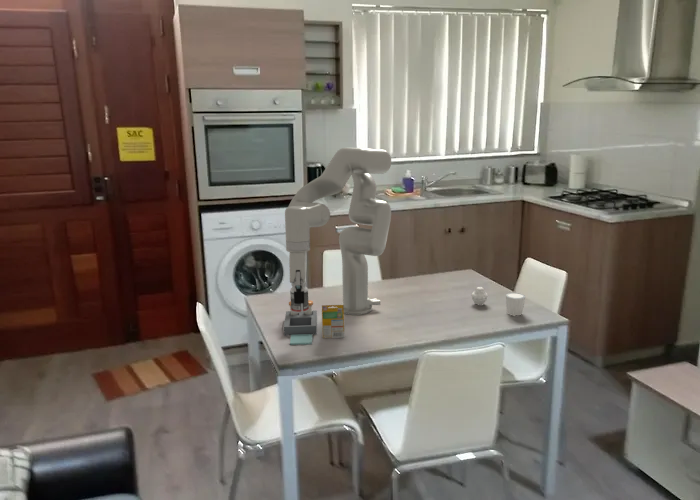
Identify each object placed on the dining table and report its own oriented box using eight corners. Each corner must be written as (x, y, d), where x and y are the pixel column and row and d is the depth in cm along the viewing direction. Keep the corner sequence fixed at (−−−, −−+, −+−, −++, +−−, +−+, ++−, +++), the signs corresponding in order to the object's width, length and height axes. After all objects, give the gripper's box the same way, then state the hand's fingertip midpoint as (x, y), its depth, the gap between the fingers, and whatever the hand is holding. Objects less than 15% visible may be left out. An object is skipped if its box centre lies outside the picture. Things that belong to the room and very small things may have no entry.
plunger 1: (299, 317, 202) (299, 300, 201) (299, 321, 199) (298, 304, 197) (289, 318, 202) (289, 300, 200) (289, 321, 199) (288, 304, 197)
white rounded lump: (469, 305, 214) (470, 288, 213) (472, 300, 220) (473, 283, 218) (486, 307, 212) (487, 290, 210) (488, 302, 217) (489, 285, 216)
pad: (312, 335, 188) (312, 334, 188) (311, 344, 181) (311, 342, 181) (291, 336, 187) (291, 334, 187) (290, 344, 181) (290, 343, 180)
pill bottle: (305, 306, 185) (304, 277, 183) (311, 311, 180) (310, 282, 178) (288, 309, 183) (287, 280, 180) (294, 314, 178) (293, 284, 175)
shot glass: (525, 311, 207) (526, 293, 206) (522, 317, 201) (524, 299, 200) (506, 309, 210) (507, 291, 208) (503, 315, 204) (504, 297, 202)
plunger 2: (313, 317, 202) (313, 300, 201) (313, 321, 199) (312, 303, 197) (303, 317, 202) (303, 300, 201) (303, 321, 199) (302, 303, 197)
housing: (317, 318, 203) (316, 310, 203) (316, 334, 189) (316, 326, 188) (286, 319, 203) (286, 311, 202) (283, 335, 188) (283, 327, 188)
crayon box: (344, 334, 188) (343, 301, 186) (344, 338, 186) (343, 304, 183) (322, 335, 188) (321, 302, 185) (322, 338, 185) (321, 305, 182)
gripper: (287, 239, 184) (289, 291, 189) (284, 252, 168) (286, 309, 172) (310, 239, 185) (311, 291, 189) (309, 251, 168) (310, 308, 172)
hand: (299, 299), depth 181 cm, fingers closed on pill bottle, 5 cm apart
